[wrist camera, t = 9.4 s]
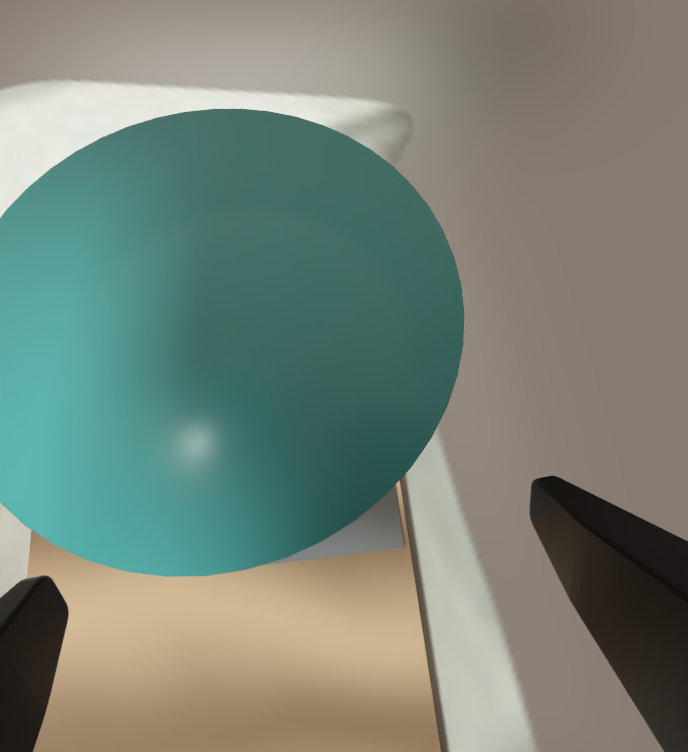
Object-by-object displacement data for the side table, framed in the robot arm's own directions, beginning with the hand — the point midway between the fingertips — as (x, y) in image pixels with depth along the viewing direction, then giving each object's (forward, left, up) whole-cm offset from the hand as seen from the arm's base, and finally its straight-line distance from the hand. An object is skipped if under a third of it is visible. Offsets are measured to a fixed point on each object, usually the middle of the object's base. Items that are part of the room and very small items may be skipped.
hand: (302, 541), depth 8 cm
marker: (+2, +1, -8) cm, 8 cm away
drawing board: (-1, +3, -8) cm, 9 cm away
